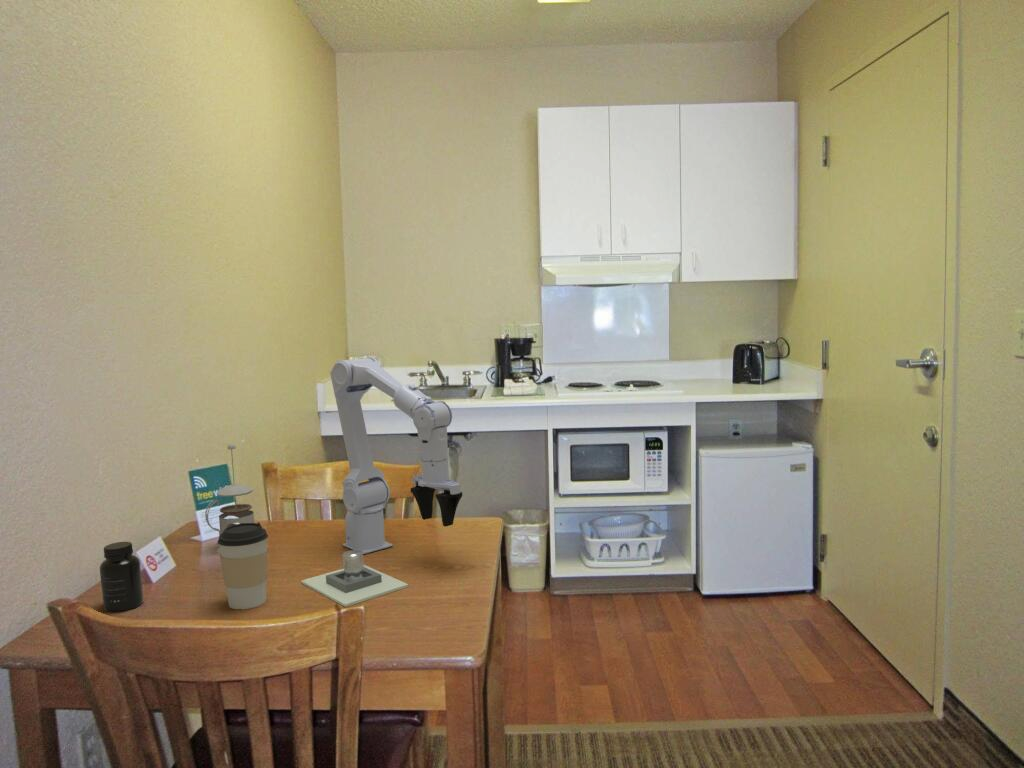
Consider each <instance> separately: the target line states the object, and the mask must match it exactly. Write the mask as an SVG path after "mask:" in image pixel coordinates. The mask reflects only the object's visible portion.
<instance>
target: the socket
mask: <svg viewBox="0 0 1024 768" xmlns="http://www.w3.org/2000/svg"><path fill="white" fill-rule="evenodd" d="M300 581H301V582H300V583H301V584H302V585H304V586H305V587H308V588H310V589H311V590H312V591H313V590H314V591H315V592H317V593H318V594H321V595H323V596H324V597H326V598H328V599H330V600H331V601H333V602H334V603H335V602H336V603H337V604H339V605H340V606H343V607H345V608H347V607H350V606H353V605H357V604H358V603H362V602H365V601H369V600H371V599H372V600H373V599H375V598H379V597H380V596H384V595H388V594H390V593H393V592H396V591H400V590H403V589H406V588H408V587H409V584H408V583H406V582H404V581H402V580H399V579H397V578H394V577H393V576H391V575H388V574H386V573H383V572H381V571H379V570H377V569H375V568H372V567H371V566H368V565H366V564H364V578H361V579H358V580H354V581H351V582H346V581H344V571H343V568H342V569H341V568H340V569H337V570H334V571H330V572H325V573H324V574H319V575H316V576H313V577H308V578H305V579H302V580H300Z"/></svg>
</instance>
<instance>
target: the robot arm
mask: <svg viewBox="0 0 1024 768" xmlns="http://www.w3.org/2000/svg"><path fill="white" fill-rule="evenodd" d="M382 364H383V363H382V362H380V361H379V360H377V359H376V358H374V357H371V356H368V357H365V358H355V359H353V358H352V359H338V360H336V361H335V363H334V365H333V366H332V368H331V369H330V370H331V371H330V373H329V375H330V378H331V379H330V380H331V385H332V387H333V388H332V389H333V394H334V398H335V403H336V407H337V413H338V416H339V421H340V427H341V431H342V435H343V436H342V438H343V442H344V446H345V450H346V455H347V462H348V465H349V470H350V471H349V472H348V474H347V475H346V476H345V478H344V479H343V480H342V487H343V492H342V493H343V494H342V500H343V504H344V506H345V508H346V509H347V510H348V511H347V513H346V514H345V519H344V522H345V525H344V526H345V542H344V543H342V546H344V547H346V548H348V549H350V550H361V551H362V552H363V555H366V554H370V553H372V552H376V551H380V550H383V549H387V548H391V547H393V543H390V542H388V541H386V538H385V523H384V522H385V520H384V515H383V508H386V503H388V501H389V499H390V495H391V492H390V491H391V490H390V487H389V484H388V482H387V481H386V479H385V475H384V472H383V471H382V470H380V469H379V468H377V467H376V466H375V465H374V461H373V457H372V452H371V451H372V450H371V446H370V442H369V437H368V432H367V427H366V422H365V418H364V414H363V409H362V408H363V407H362V405H361V400H362V398H363V397H364V395H365V394H366V393H367V392H368V391H369V390H371V388H372V387H374V388H377V389H378V391H381V392H382V393H384V394H386V395H387V396H389V397H391V398H392V399H393V403H394V406H395V407H396V408H398V410H400V411H401V412H403V413H404V414H406V415H407V416H408V417H409V418H411V419H412V421H413V425H414V427H415V428H416V431H417V437H418V439H419V440H420V441H419V442H420V464H421V465H420V467H421V473H418V474H414V475H412V485H415V486H414V487H411V488H410V492H411V494H412V496H413V498H415V499H414V500H415V501H416V503H417V507H418V509H419V513H420V516H421V520H423V521H424V520H428V519H432V517H433V506H434V505H433V503H434V495H435V498H436V500H437V503H438V506H439V508H440V509H439V510H440V514H441V523H442V526H443V527H446V528H447V527H448V526H453V524H454V521H455V516H456V512H457V508H458V505H459V502H460V501H461V499H462V497H463V492H462V491H461V484H460V483H458V482H456V481H455V480H453V479H452V478H450V476H449V475H450V472H449V471H450V469H449V452H448V451H449V449H448V448H449V447H448V446H449V445H448V427H449V426H450V425H451V424H452V420H453V412H452V409H451V407H450V405H449V404H447V403H446V401H444V400H437V401H436V400H434V399H432V397H431V396H430V395H428V396H427V395H426V394H424V392H422V391H420V390H419V389H418V386H417V385H415V384H404V385H403V384H402V383H401V382H400V381H398V380H397V379H396V378H395V377H394V376H392V375H391V374H390V373H389V372H387V371H386V370H385V369H384V368H383V365H382ZM362 481H363V482H362ZM436 490H438V491H443V492H442V493H436V494H435V492H436Z"/></svg>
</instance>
